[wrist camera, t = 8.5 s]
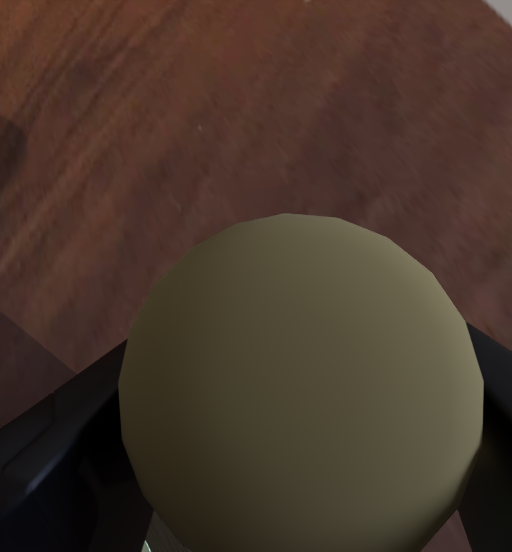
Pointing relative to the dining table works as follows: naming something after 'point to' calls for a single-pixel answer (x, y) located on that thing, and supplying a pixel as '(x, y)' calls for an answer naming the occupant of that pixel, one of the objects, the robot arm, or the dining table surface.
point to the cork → (301, 393)
